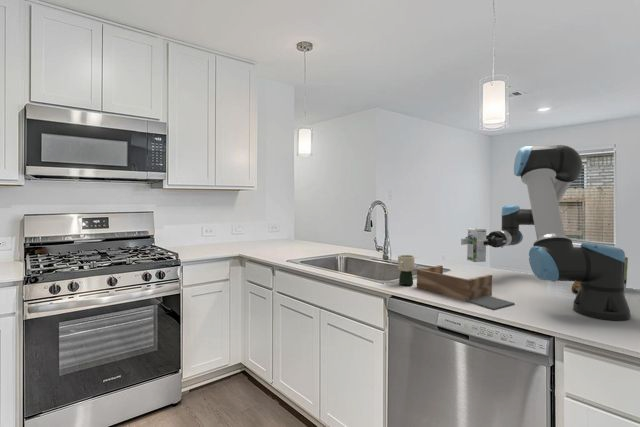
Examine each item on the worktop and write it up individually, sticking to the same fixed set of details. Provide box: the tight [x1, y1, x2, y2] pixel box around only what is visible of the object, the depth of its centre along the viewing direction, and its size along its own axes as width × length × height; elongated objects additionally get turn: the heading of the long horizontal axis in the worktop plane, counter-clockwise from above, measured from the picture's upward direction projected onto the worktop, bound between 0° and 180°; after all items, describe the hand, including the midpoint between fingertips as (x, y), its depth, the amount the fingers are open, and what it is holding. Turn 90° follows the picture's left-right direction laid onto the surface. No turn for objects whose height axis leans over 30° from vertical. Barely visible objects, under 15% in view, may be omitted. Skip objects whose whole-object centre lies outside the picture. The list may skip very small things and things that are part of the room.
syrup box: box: [466, 227, 487, 263], centre depth 157 cm, size 6×6×14 cm
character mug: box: [397, 254, 415, 286], centre depth 160 cm, size 11×7×13 cm, turn 140°
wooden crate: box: [416, 265, 493, 302], centre depth 148 cm, size 16×25×8 cm, turn 34°
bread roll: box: [570, 282, 580, 295], centre depth 143 cm, size 10×10×8 cm
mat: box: [465, 295, 515, 311], centre depth 132 cm, size 12×12×1 cm
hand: (470, 242), depth 154 cm, fingers closed on syrup box, 7 cm apart
